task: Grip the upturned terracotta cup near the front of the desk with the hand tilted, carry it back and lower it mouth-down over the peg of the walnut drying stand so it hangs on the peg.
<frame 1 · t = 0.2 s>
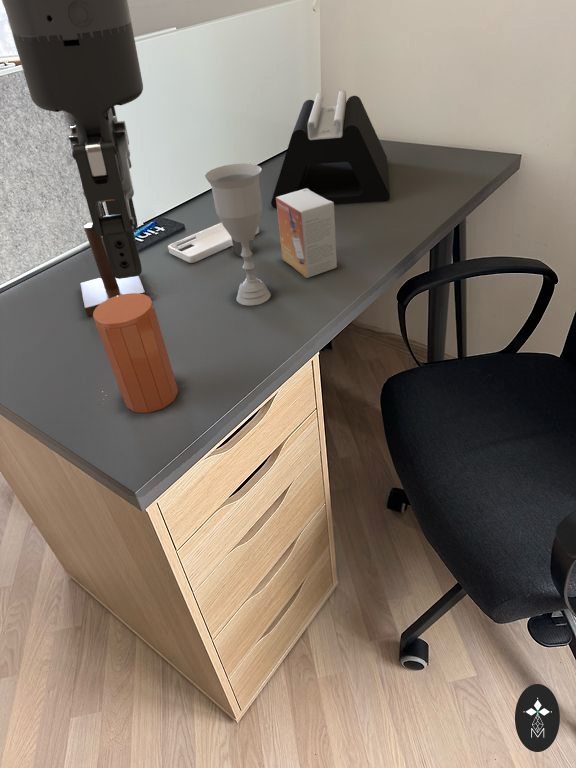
hand: (126, 251, 47), 22 cm above the table, tool pointing down, fingers open, 8 cm apart
milkshake: (243, 254, 95), on the table
cup: (151, 395, 67), on the table
device stand: (332, 184, 117), on the table
chalice: (253, 297, 83), on the table
phone case: (215, 243, 100), on the table
stand: (114, 295, 88), on the table
small box: (309, 265, 89), on the table
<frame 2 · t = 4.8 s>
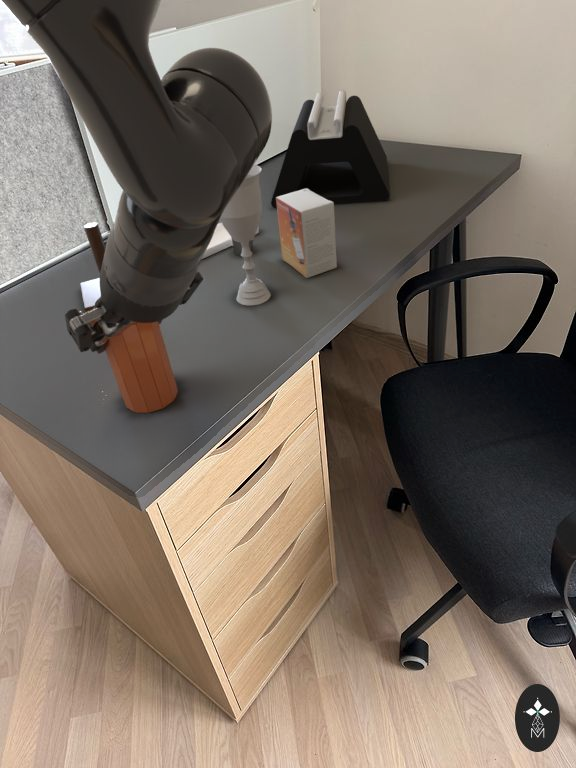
hand: (124, 331, 63), 8 cm above the table, tool tilted 45°, fingers closed on cup, 6 cm apart
cup: (151, 395, 67), on the table, touching gripper
everything else where it was.
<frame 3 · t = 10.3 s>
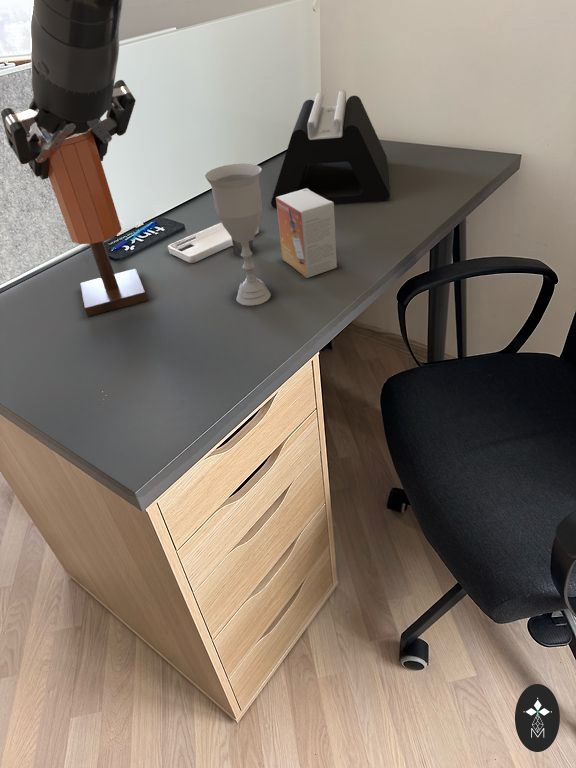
hand: (68, 163, 68), 22 cm above the table, tool tilted 45°, fingers closed on cup, 6 cm apart
cup: (96, 233, 72), point 14 cm above the table, touching gripper
everything else where it was.
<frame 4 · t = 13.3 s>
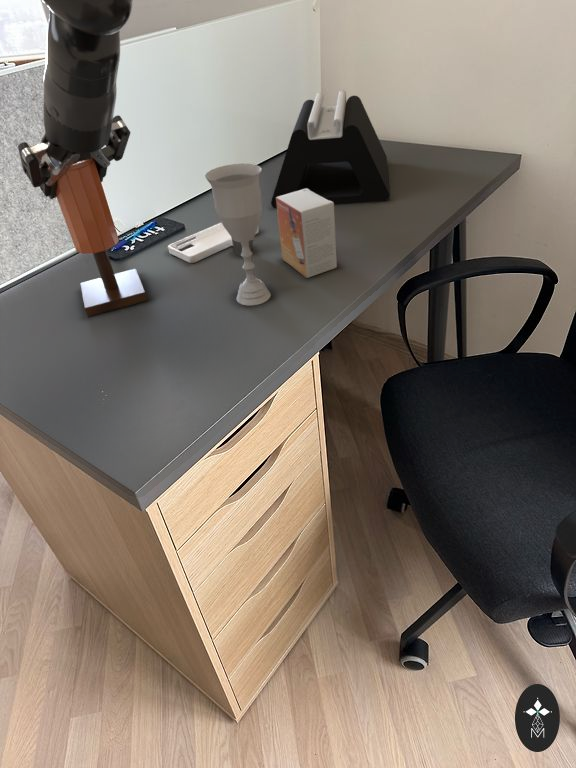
hand: (73, 184, 79), 17 cm above the table, tool tilted 45°, fingers closed on cup, 6 cm apart
cup: (97, 244, 83), point 9 cm above the table, touching gripper
everything else where it was.
when the fingers open (10 cm above the table, at t = 15.8 s): cup stays where it is, resting on stand.
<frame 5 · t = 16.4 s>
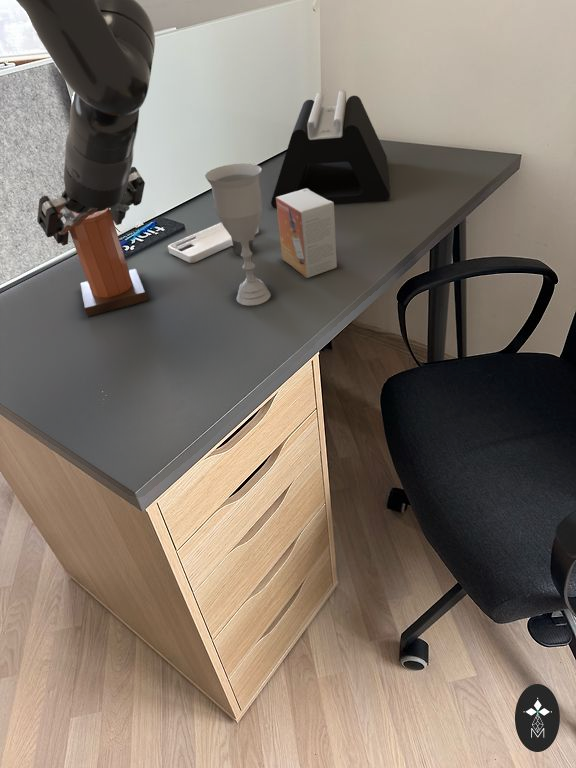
hand: (88, 229, 82), 11 cm above the table, tool tilted 45°, fingers open, 8 cm apart
cup: (112, 287, 87), point 1 cm above the table, touching stand
everything else where it was.
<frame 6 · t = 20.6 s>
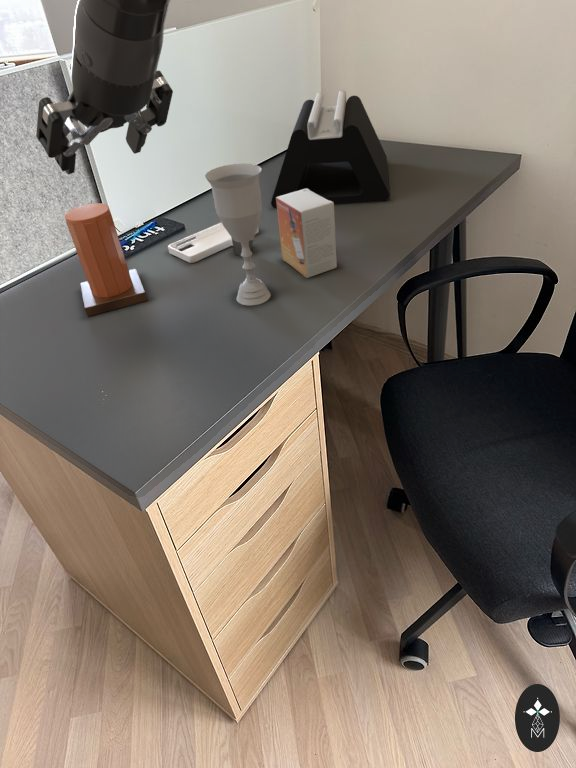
hand: (100, 156, 66), 23 cm above the table, tool tilted 45°, fingers open, 8 cm apart
nothing on the table moved.
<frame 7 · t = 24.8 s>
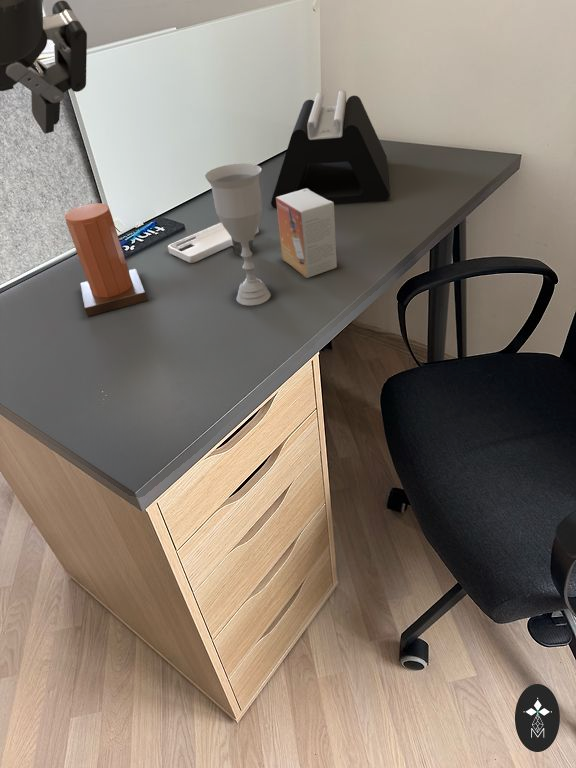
nothing on the table moved.
at the end: cup 0.1 cm from the stand (horizontally); cup point 1.5 cm above the table; cup tilted 0° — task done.
